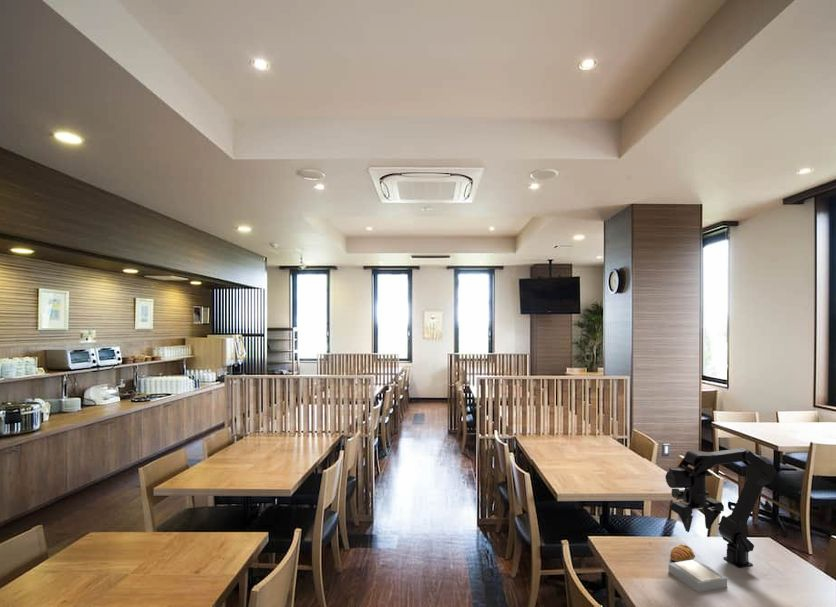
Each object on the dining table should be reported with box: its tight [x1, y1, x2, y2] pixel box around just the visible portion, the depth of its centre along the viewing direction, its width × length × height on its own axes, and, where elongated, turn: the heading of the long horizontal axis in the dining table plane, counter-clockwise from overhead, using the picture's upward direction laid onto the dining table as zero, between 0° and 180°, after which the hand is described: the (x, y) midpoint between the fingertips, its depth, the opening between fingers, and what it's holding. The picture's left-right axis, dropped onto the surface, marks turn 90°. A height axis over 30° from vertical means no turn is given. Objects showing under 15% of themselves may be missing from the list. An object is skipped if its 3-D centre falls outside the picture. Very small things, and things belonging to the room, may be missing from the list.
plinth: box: [668, 558, 728, 593], centre depth 151 cm, size 12×12×3 cm
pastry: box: [669, 544, 696, 562], centre depth 163 cm, size 9×7×4 cm
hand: (697, 530), depth 161 cm, fingers open, 9 cm apart
